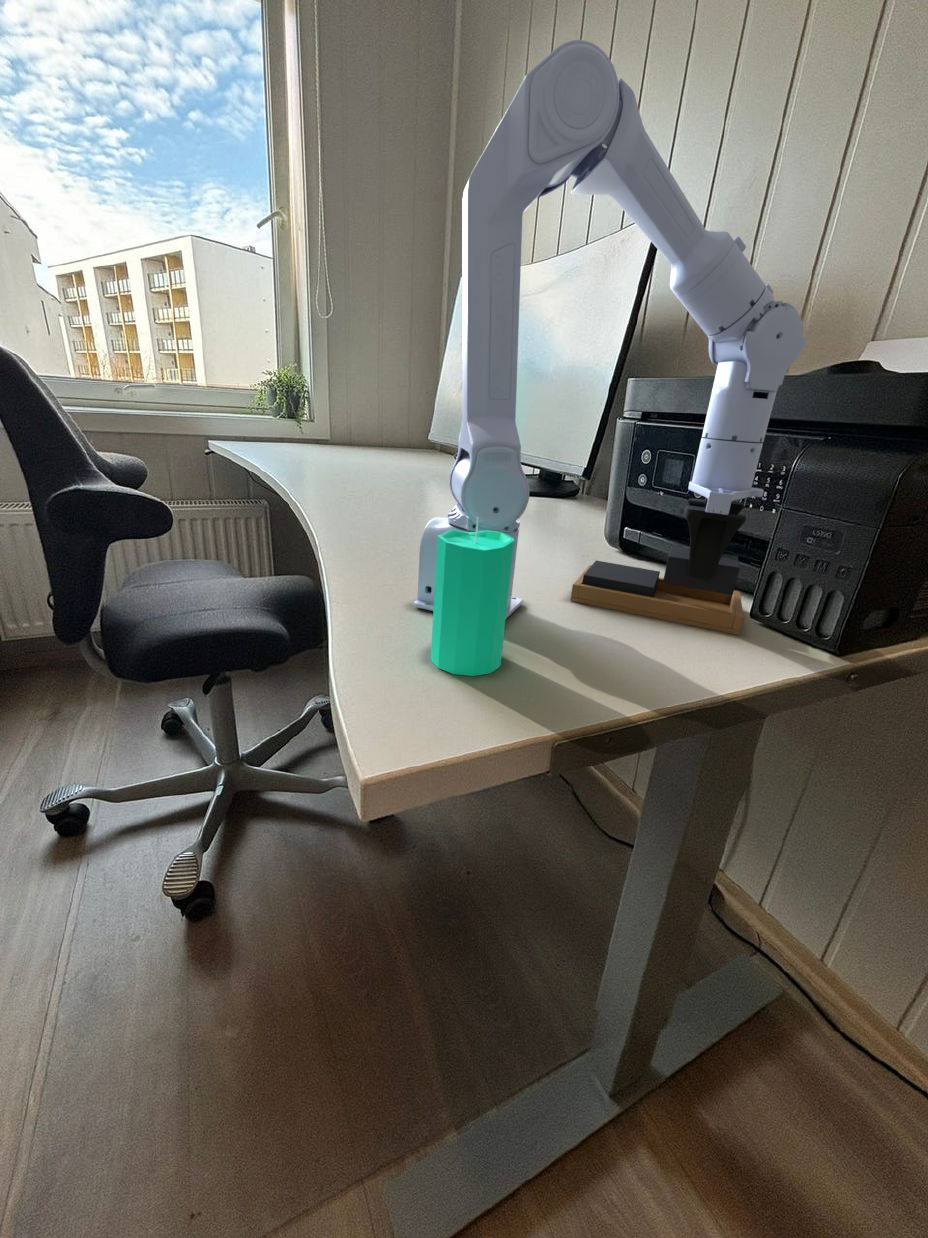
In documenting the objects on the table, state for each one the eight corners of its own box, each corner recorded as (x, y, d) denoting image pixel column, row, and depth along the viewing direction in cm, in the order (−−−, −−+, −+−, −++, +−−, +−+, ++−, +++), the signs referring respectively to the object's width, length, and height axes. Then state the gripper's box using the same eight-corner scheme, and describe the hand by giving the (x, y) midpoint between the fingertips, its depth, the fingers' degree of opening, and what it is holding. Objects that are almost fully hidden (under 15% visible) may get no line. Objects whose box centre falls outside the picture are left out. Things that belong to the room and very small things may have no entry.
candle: (509, 652, 48) (525, 515, 43) (490, 682, 42) (505, 529, 38) (445, 639, 49) (454, 506, 45) (419, 666, 44) (425, 518, 40)
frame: (570, 600, 62) (572, 584, 61) (587, 579, 70) (589, 564, 69) (738, 635, 56) (743, 617, 55) (735, 607, 64) (740, 591, 63)
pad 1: (580, 595, 62) (583, 574, 61) (592, 579, 69) (595, 560, 68) (649, 609, 60) (654, 587, 59) (655, 591, 66) (660, 571, 65)
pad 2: (662, 582, 59) (668, 556, 58) (666, 570, 64) (672, 545, 63) (732, 595, 57) (740, 567, 56) (731, 581, 62) (738, 555, 60)
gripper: (784, 447, 47) (742, 595, 52) (769, 441, 60) (737, 561, 65) (697, 439, 50) (666, 581, 55) (700, 435, 62) (675, 551, 67)
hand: (700, 570), depth 60 cm, fingers closed on pad 2, 5 cm apart
